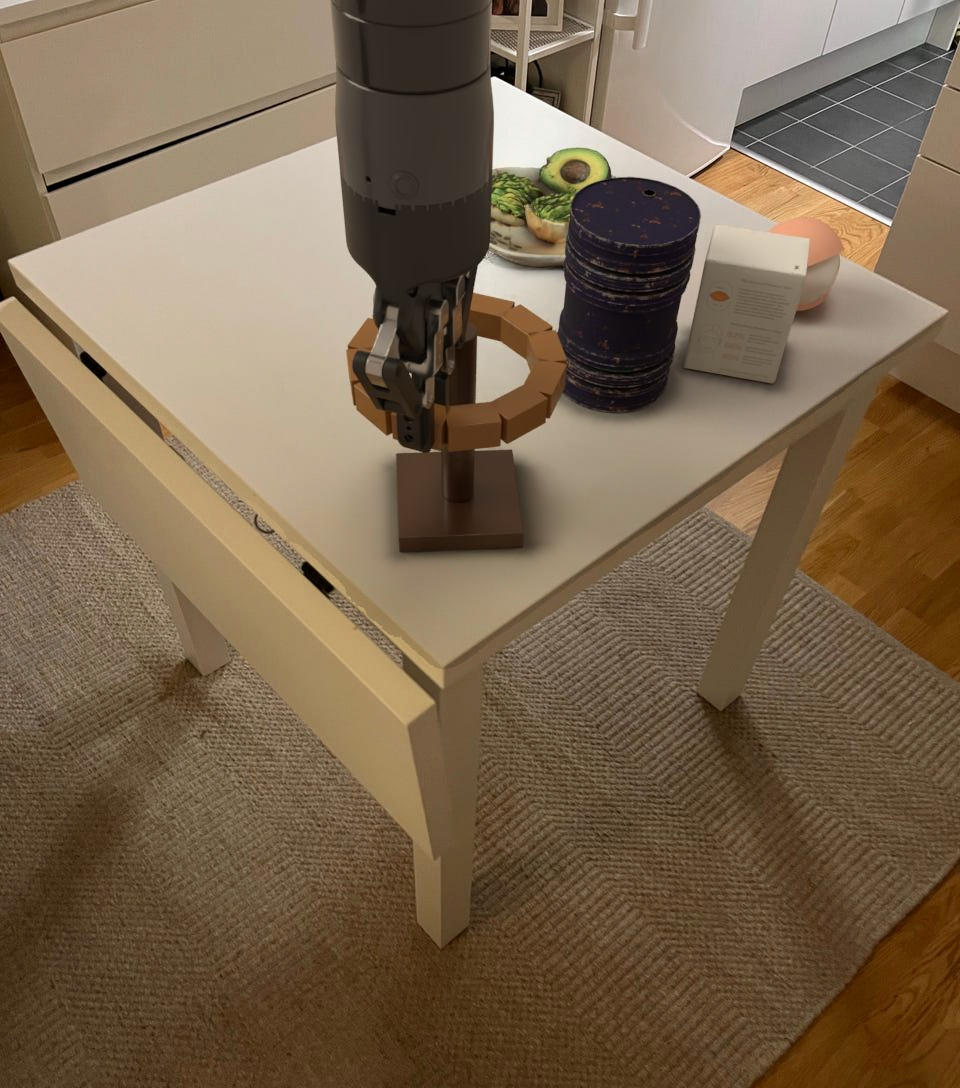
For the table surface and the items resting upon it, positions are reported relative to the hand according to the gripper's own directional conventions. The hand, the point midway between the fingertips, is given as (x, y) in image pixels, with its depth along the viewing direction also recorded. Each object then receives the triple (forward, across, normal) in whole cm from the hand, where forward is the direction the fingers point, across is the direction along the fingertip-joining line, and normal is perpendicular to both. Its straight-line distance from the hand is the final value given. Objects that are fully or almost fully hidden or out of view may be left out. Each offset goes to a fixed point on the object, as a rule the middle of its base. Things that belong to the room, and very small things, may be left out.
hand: (423, 433), depth 62 cm
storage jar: (+12, -26, +7) cm, 29 cm away
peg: (+12, -6, 0) cm, 13 cm away
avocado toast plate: (+12, -48, -5) cm, 49 cm away
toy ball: (+12, -42, +19) cm, 48 cm away
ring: (0, -6, 0) cm, 6 cm away
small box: (+12, -32, +16) cm, 38 cm away
